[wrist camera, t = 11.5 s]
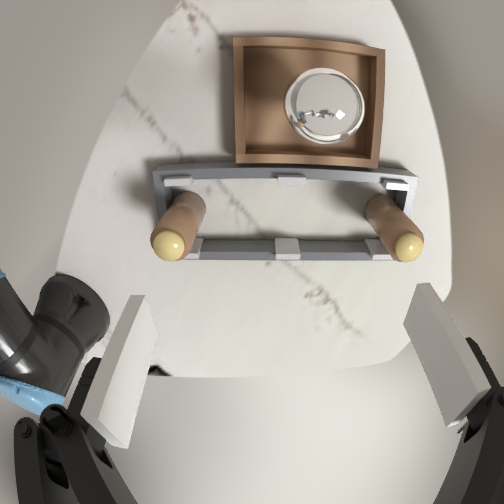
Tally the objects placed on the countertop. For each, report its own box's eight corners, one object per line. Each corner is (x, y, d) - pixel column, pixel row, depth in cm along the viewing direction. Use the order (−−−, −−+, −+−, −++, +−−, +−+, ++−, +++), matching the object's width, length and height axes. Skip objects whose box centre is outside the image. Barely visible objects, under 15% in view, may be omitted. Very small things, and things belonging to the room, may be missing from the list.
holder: (171, 247, 41) (164, 263, 37) (160, 164, 34) (149, 174, 31) (392, 248, 39) (402, 264, 36) (408, 169, 33) (421, 179, 30)
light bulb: (280, 67, 27) (291, 56, 17) (342, 77, 27) (383, 76, 17) (274, 125, 31) (280, 146, 21) (334, 134, 31) (368, 160, 21)
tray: (238, 156, 34) (235, 163, 31) (235, 41, 26) (233, 37, 24) (369, 161, 33) (377, 168, 31) (375, 51, 26) (385, 49, 23)
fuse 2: (362, 224, 38) (387, 267, 29) (367, 193, 35) (397, 230, 27) (391, 225, 38) (421, 266, 29) (397, 196, 35) (431, 231, 27)
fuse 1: (175, 223, 39) (151, 265, 30) (170, 192, 36) (143, 228, 28) (207, 222, 38) (191, 266, 30) (204, 191, 36) (186, 227, 28)
